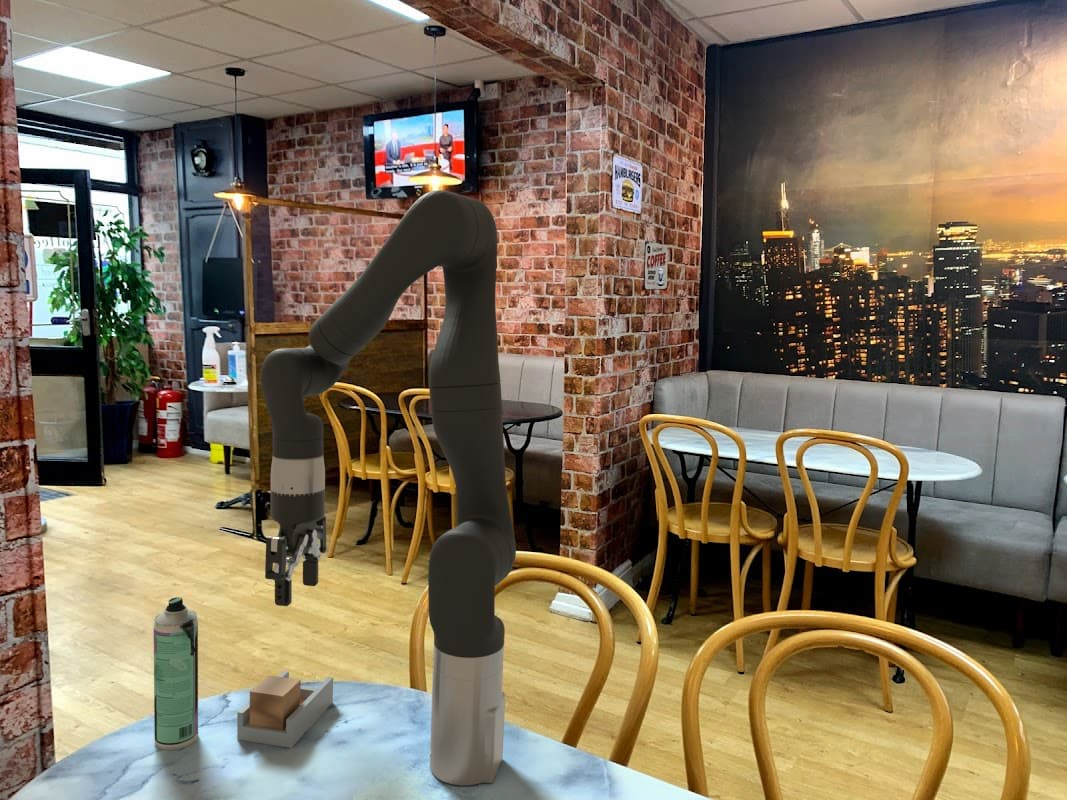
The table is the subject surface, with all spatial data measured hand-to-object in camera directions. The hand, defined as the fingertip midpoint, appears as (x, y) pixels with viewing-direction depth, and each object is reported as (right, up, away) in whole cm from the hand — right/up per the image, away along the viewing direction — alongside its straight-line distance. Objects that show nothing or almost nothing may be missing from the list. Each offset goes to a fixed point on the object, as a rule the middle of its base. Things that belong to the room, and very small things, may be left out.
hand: (297, 594), depth 115 cm
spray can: (-15, -18, -7) cm, 25 cm away
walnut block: (-2, -17, -4) cm, 17 cm away
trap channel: (-1, -18, -1) cm, 18 cm away
